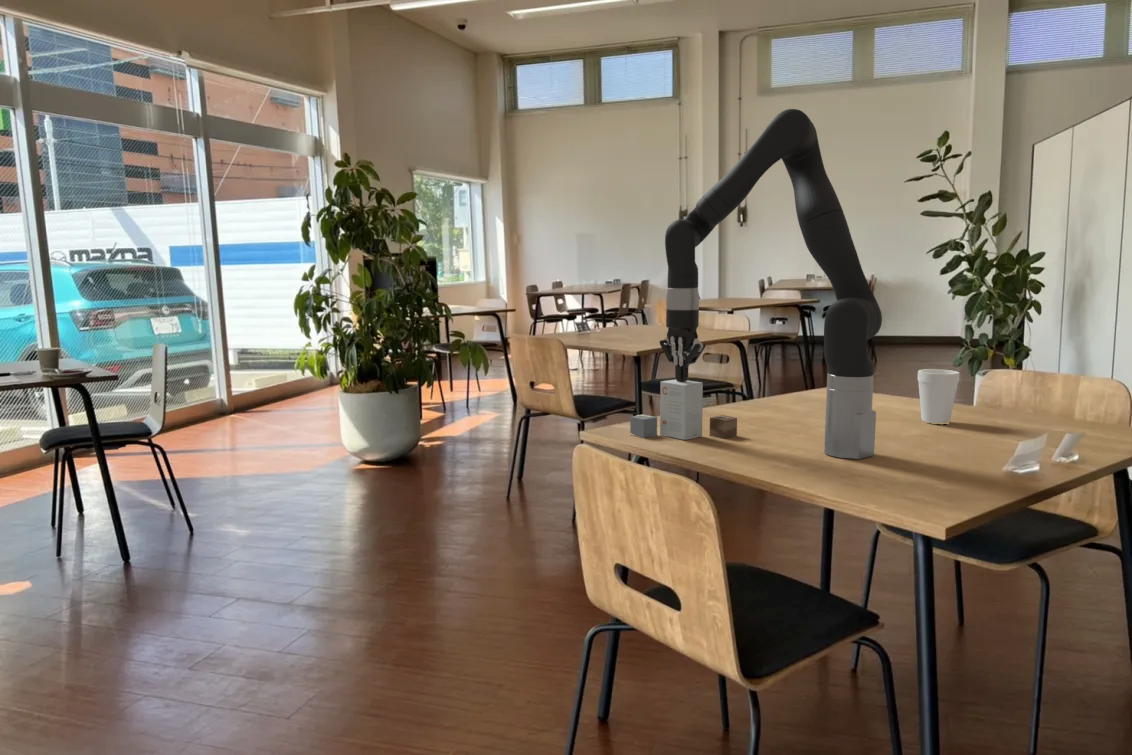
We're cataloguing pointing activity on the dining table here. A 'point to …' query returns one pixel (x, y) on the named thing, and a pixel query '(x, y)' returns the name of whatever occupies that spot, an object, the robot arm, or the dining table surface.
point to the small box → (681, 409)
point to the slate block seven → (643, 425)
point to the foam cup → (937, 394)
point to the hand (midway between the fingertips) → (681, 381)
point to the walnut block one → (723, 426)
